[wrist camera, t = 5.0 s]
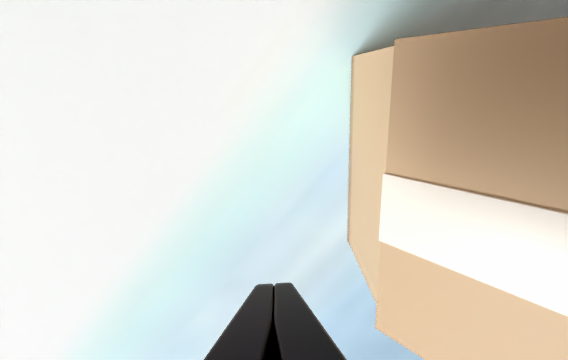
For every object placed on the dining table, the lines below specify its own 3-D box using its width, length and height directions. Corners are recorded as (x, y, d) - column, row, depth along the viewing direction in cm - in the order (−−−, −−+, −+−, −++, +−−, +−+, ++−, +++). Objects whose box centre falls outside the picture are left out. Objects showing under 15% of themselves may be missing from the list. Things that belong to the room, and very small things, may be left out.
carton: (627, 42, 17) (856, 20, 10) (571, 226, 21) (712, 296, 14) (351, 56, 17) (404, 43, 10) (347, 239, 20) (383, 318, 14)
